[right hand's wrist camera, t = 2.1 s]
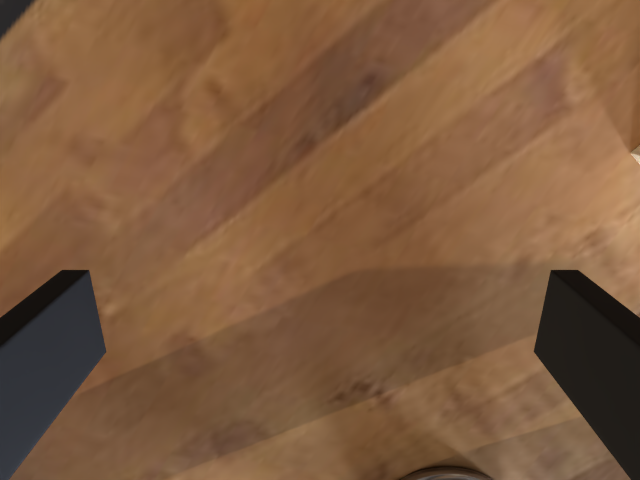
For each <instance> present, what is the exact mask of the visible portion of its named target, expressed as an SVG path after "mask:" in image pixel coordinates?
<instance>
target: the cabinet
mask: <svg viewBox="0 0 640 480" xmlns="http://www.w3.org/2000/svg"><path fill="white" fill-rule="evenodd" d="M631 155H632V156H633V157H634V158H635V159H636V161H637V162H638V163H639V164H640V145H639V146H638V147H637V148H636V149H634V150H633V151H632V152H631Z"/></svg>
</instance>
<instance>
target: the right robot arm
mask: <svg viewBox="0 0 640 480" xmlns="http://www.w3.org/2000/svg"><path fill="white" fill-rule="evenodd" d="M105 352H106V348H105V344H104V339H103V334H102V329H101V325H100V320H99V315H98V310H97V306H96V301H95V296H94V291H93V287H92V282H91V277H90V272H89V270H62V271H60V272H59V273H58V274H56V275H55V276H54V277H52V278H51V279H50V280H49V281H47V282H46V283H45V284H43V285H42V286H41V287H40V288H38V289H37V290H36V291H34V292H33V293H32V294H31V295H29V296H28V297H27V298H25V299H24V300H23V301H21V302H20V303H19V304H18V305H16V306H15V307H14V308H12V309H11V310H10V311H9V312H7V313H6V314H5V315H3V316H2V317H1V318H0V480H9V479H10V477H11V476H12V475H13V473H14V472H15V471H16V470H17V468H18V467H19V466H20V464H21V463H22V462H23V460H24V459H25V458H26V456H27V455H28V454H29V452H30V451H31V450H32V449H33V447H34V446H35V445H36V443H37V442H38V441H39V439H40V438H41V437H42V435H43V434H44V433H45V431H46V430H47V429H48V427H49V426H50V425H51V424H52V422H53V421H54V420H55V418H56V417H57V416H58V414H59V413H60V412H61V410H62V409H63V408H64V406H65V405H66V404H67V402H68V401H69V400H70V399H71V397H72V396H73V395H74V393H75V392H76V391H77V389H78V388H79V387H80V385H81V384H82V383H83V381H84V380H85V379H86V377H87V376H88V375H89V374H90V372H91V371H92V370H93V368H94V367H95V366H96V364H97V363H98V362H99V360H100V359H101V358H102V356H103V355H104V354H105ZM534 352H535V354H536V355H537V356H538V358H539V359H540V360H541V362H542V363H543V364H544V366H545V367H546V368H547V370H548V371H549V372H550V374H551V375H552V376H553V377H554V379H555V380H556V381H557V383H558V384H559V385H560V387H561V388H562V389H563V391H564V392H565V393H566V395H567V396H568V397H569V399H570V400H571V401H572V402H573V404H574V405H575V406H576V408H577V409H578V410H579V412H580V413H581V414H582V416H583V417H584V418H585V420H586V421H587V422H588V424H589V425H590V426H591V427H592V429H593V430H594V431H595V433H596V434H597V435H598V437H599V438H600V439H601V441H602V442H603V443H604V445H605V446H606V447H607V449H608V450H609V451H610V452H611V454H612V455H613V456H614V458H615V459H616V460H617V462H618V463H619V464H620V466H621V467H622V468H623V470H624V471H625V472H626V473H627V475H628V476H629V477H630V479H631V480H640V318H639V317H638V316H637V315H635V314H634V313H633V312H631V311H630V310H629V309H628V308H626V307H625V306H624V305H622V304H621V303H620V302H619V301H617V300H616V299H615V298H613V297H612V296H611V295H609V294H608V293H607V292H606V291H604V290H603V289H602V288H600V287H599V286H598V285H597V284H595V283H594V282H593V281H591V280H590V279H589V278H588V277H586V276H585V275H584V274H582V273H581V272H580V271H578V270H551V272H550V277H549V282H548V287H547V291H546V296H545V301H544V306H543V310H542V315H541V320H540V325H539V329H538V334H537V339H536V344H535V348H534ZM400 480H492V479H491V478H489V477H487V476H486V475H484V474H481V473H479V472H476V471H473V470H470V469H465V468H458V467H437V468H430V469H425V470H421V471H418V472H415V473H412V474H410V475H408V476H406V477H404V478H402V479H400Z"/></svg>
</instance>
